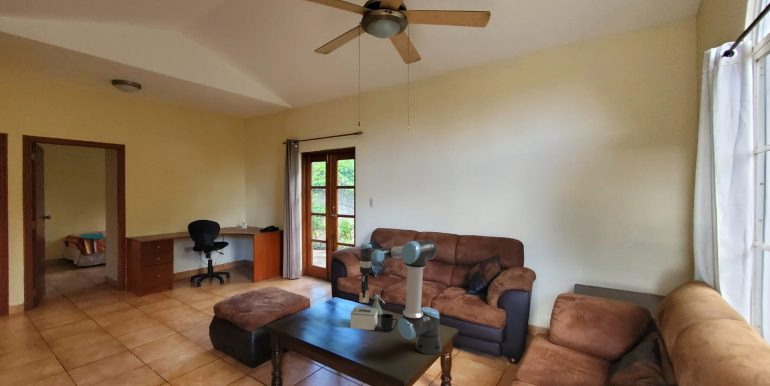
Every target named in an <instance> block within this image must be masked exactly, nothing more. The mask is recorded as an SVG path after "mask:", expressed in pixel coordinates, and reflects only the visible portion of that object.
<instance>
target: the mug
mask: <svg viewBox="0 0 770 386" xmlns="http://www.w3.org/2000/svg"><path fill="white" fill-rule="evenodd" d="M394 321H396V323H395V325H393V324H394ZM398 321H399V319H397V318H394V315H393V314H391V313H382V314H380V324H381V329H382V332H384V333H389V332H392V331H394V330H395V328H396V327H397V326H398Z"/></svg>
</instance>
